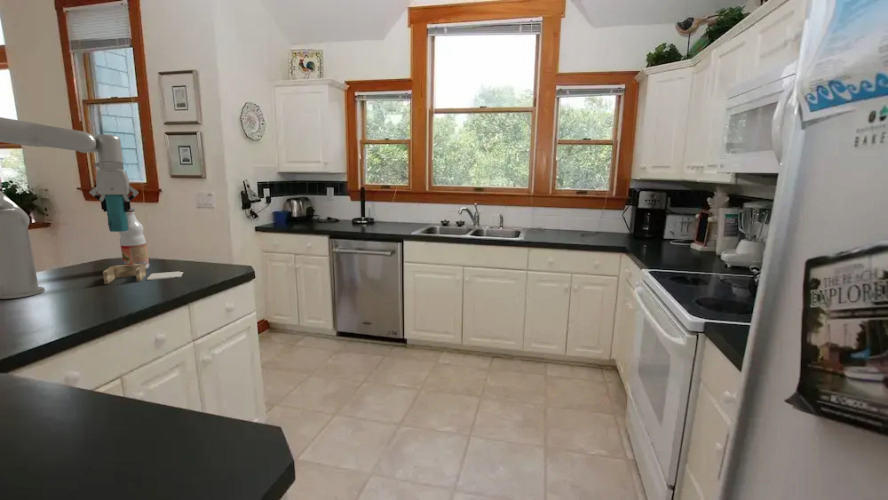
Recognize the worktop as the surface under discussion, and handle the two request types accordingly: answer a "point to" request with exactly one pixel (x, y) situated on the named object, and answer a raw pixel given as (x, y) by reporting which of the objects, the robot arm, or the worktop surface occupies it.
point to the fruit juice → (133, 242)
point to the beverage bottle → (116, 213)
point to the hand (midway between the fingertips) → (116, 210)
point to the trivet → (164, 275)
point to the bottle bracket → (124, 272)
